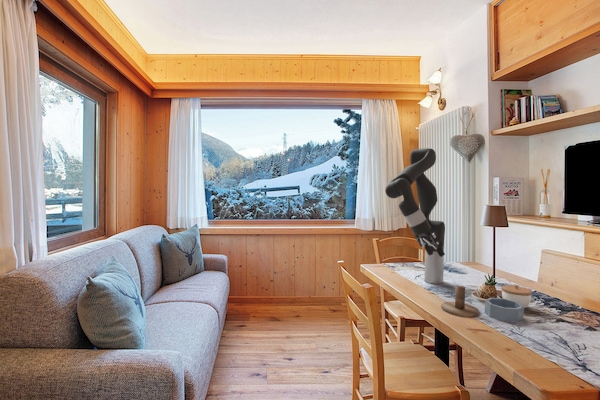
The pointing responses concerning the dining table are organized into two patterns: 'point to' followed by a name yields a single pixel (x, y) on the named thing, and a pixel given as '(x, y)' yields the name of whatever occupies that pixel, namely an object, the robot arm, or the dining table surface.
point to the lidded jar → (517, 294)
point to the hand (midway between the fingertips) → (436, 255)
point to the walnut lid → (460, 305)
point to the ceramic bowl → (504, 309)
